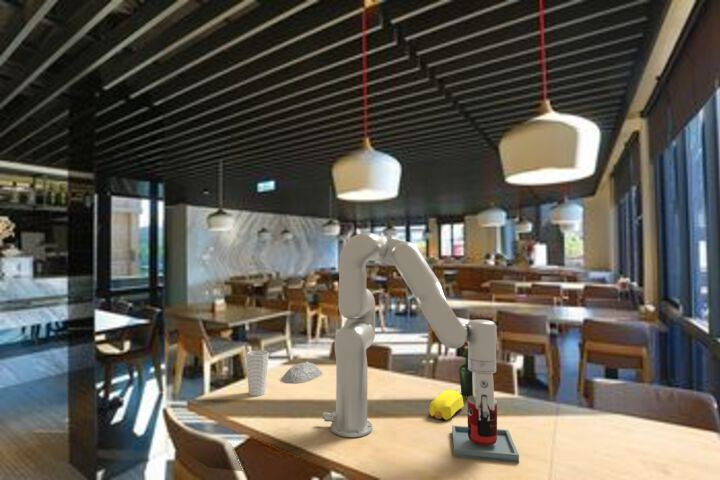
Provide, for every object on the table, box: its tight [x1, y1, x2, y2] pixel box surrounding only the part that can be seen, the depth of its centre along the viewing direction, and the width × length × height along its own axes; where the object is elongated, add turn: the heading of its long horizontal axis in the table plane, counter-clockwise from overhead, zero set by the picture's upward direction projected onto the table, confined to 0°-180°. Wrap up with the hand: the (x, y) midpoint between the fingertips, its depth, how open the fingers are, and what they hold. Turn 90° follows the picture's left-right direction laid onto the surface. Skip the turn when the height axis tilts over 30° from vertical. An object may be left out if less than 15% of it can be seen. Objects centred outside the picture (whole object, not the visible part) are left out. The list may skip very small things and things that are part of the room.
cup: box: [245, 349, 270, 397], centre depth 158 cm, size 8×8×16 cm
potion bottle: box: [458, 346, 473, 398], centre depth 159 cm, size 8×8×18 cm
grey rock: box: [280, 361, 324, 385], centre depth 182 cm, size 16×25×7 cm, turn 161°
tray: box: [451, 425, 520, 464], centre depth 114 cm, size 16×16×2 cm
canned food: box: [467, 395, 498, 445], centre depth 115 cm, size 8×8×11 cm
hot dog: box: [429, 389, 465, 421], centre depth 140 cm, size 18×7×8 cm
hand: (482, 428), depth 114 cm, fingers closed on canned food, 7 cm apart
